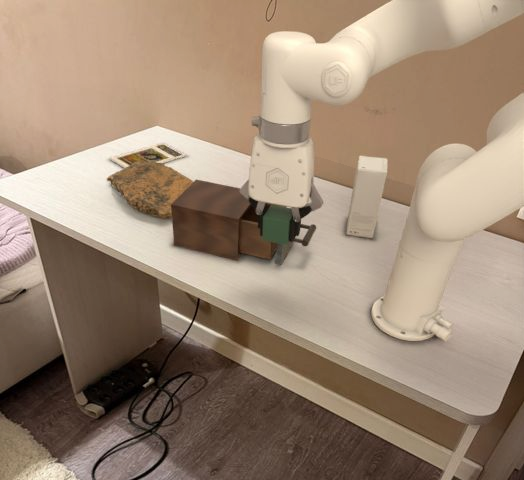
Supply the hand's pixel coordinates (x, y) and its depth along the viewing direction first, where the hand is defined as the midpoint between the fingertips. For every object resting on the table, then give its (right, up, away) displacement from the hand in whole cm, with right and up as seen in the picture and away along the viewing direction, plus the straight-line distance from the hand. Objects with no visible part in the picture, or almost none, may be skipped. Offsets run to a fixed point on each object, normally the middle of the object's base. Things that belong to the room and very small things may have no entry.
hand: (278, 234), depth 86 cm
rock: (-30, +17, +33) cm, 48 cm away
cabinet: (-13, +4, +21) cm, 25 cm away
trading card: (-35, +33, +50) cm, 69 cm away
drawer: (-1, +2, +18) cm, 19 cm away
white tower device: (+20, +8, +28) cm, 35 cm away
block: (0, 0, 0) cm, 0 cm away
